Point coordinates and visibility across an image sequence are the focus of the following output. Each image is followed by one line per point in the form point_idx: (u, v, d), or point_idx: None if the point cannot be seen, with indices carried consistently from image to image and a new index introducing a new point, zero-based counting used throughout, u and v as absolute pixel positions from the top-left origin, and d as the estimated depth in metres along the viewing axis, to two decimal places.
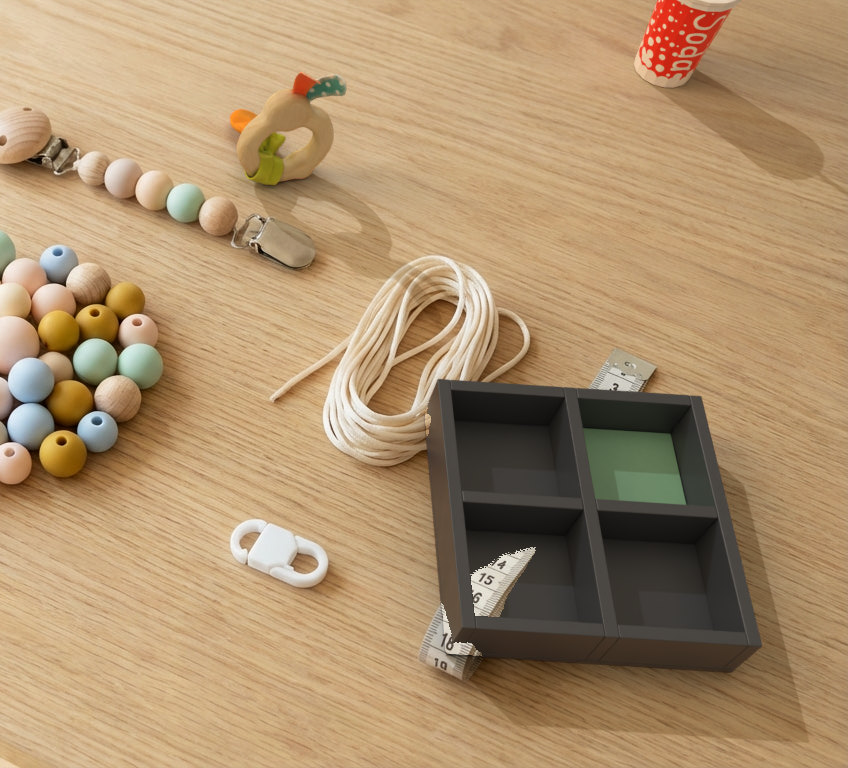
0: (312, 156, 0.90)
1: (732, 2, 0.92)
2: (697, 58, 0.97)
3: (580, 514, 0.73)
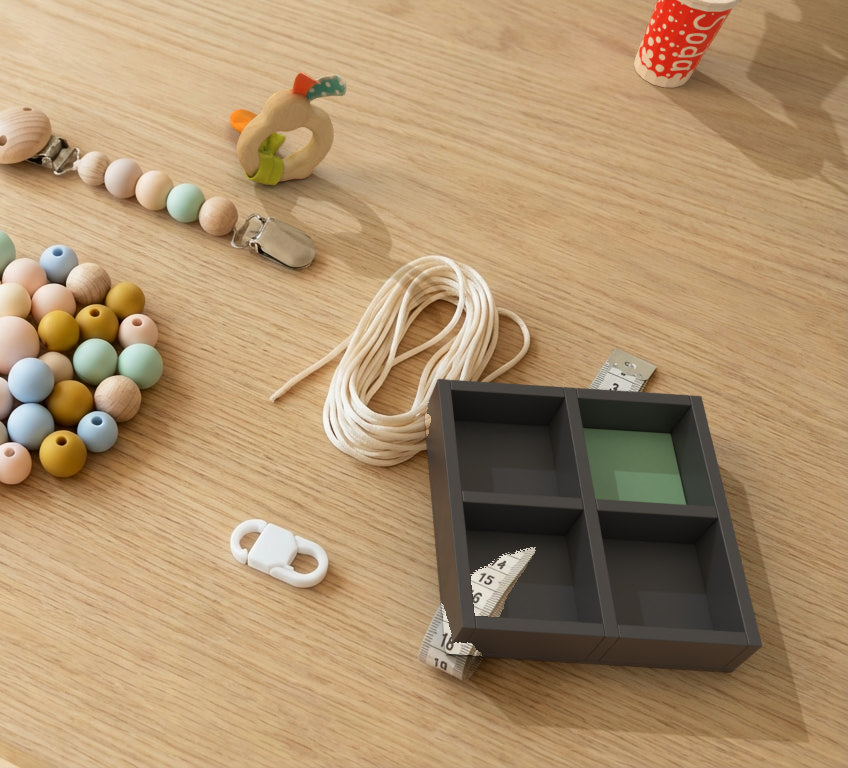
0: (312, 156, 0.90)
1: (732, 2, 0.92)
2: (697, 58, 0.97)
3: (580, 514, 0.73)
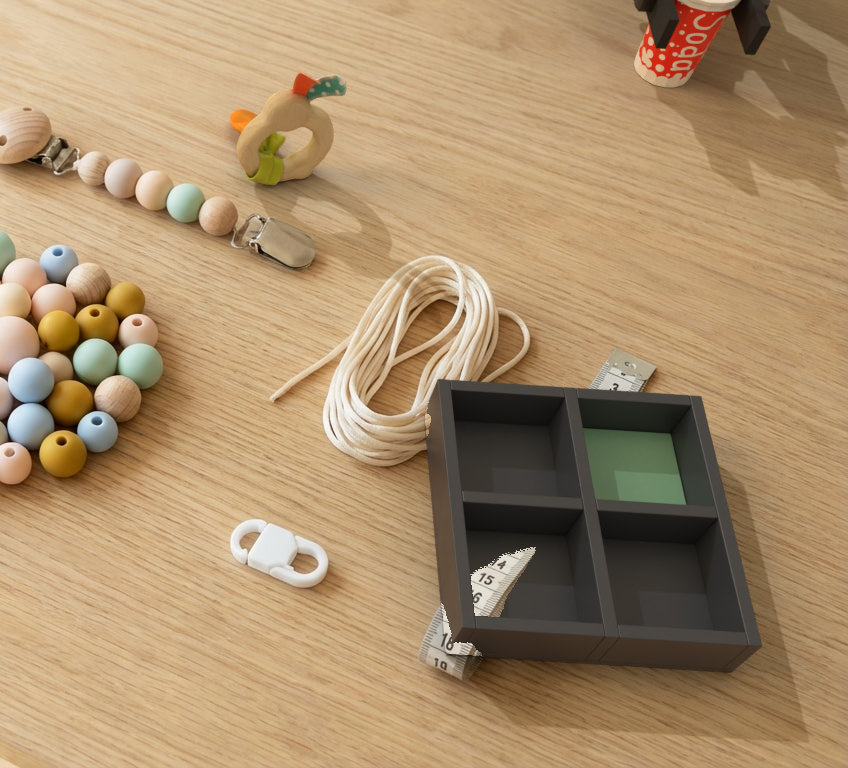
0: (312, 156, 0.90)
1: (732, 2, 0.92)
2: (697, 58, 0.97)
3: (580, 514, 0.73)
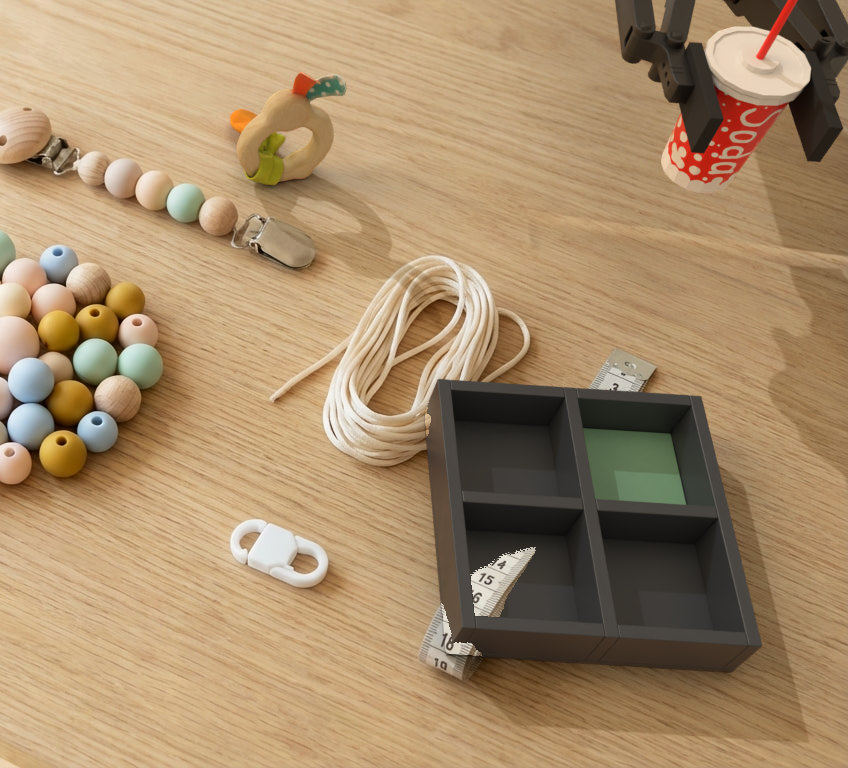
0: (312, 156, 0.90)
1: (791, 94, 0.71)
2: (743, 159, 0.76)
3: (580, 514, 0.73)
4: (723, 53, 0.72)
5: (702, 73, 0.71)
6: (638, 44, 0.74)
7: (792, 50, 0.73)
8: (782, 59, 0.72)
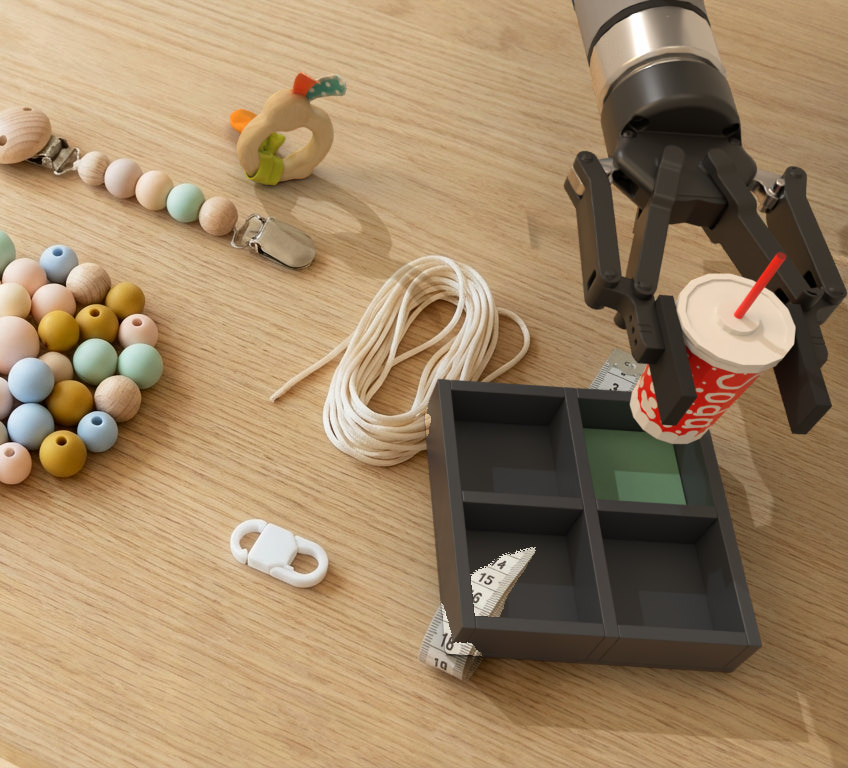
0: (312, 156, 0.90)
1: (774, 361, 0.63)
2: (720, 414, 0.68)
3: (580, 514, 0.73)
4: (697, 309, 0.64)
5: (673, 336, 0.63)
6: (602, 292, 0.66)
7: (775, 304, 0.65)
8: (763, 315, 0.64)
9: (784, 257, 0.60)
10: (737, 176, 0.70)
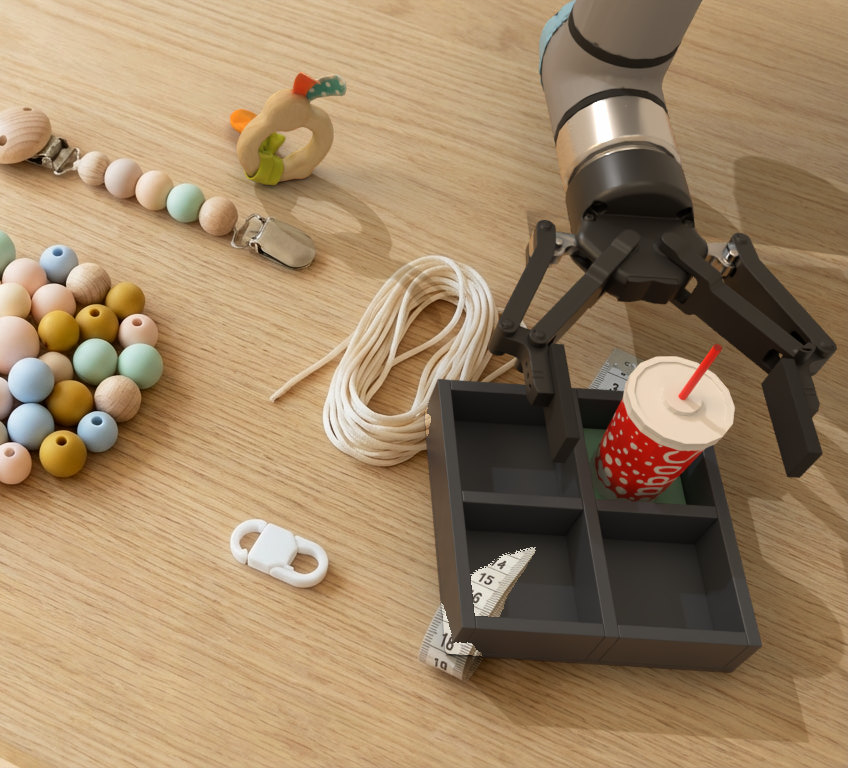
0: (312, 156, 0.90)
1: (714, 440, 0.68)
2: (670, 483, 0.74)
3: (580, 514, 0.73)
4: (645, 390, 0.70)
5: (562, 382, 0.70)
6: (498, 339, 0.73)
7: (716, 385, 0.71)
8: (705, 396, 0.70)
9: (720, 349, 0.66)
10: (694, 253, 0.75)
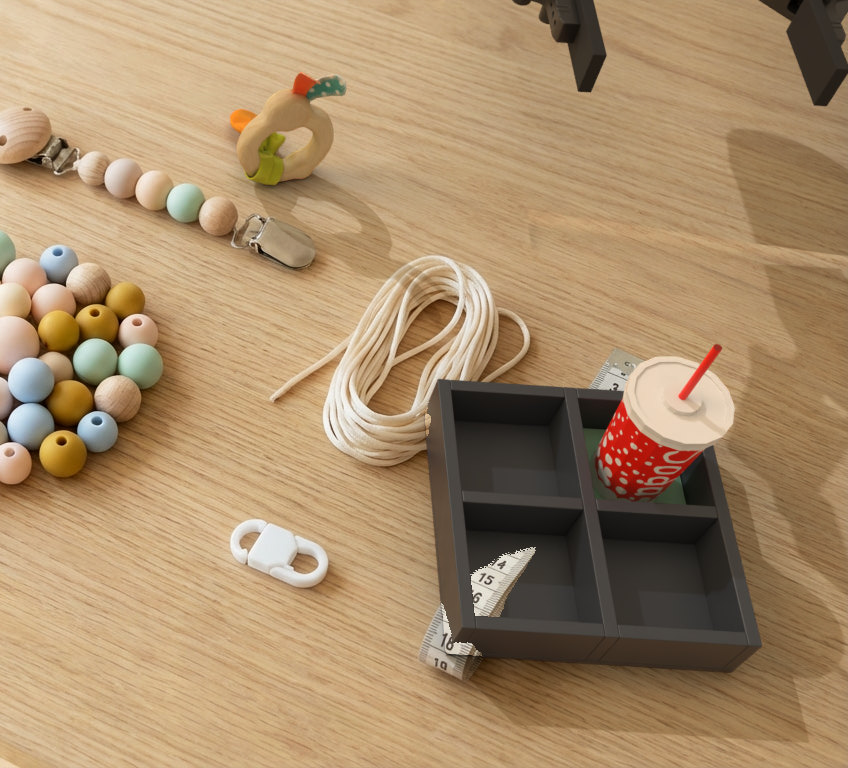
0: (312, 156, 0.90)
1: (714, 440, 0.68)
2: (670, 483, 0.74)
3: (580, 514, 0.73)
4: (645, 390, 0.70)
5: (587, 11, 0.70)
6: None
7: (716, 385, 0.71)
8: (705, 396, 0.70)
9: (720, 349, 0.66)
10: None
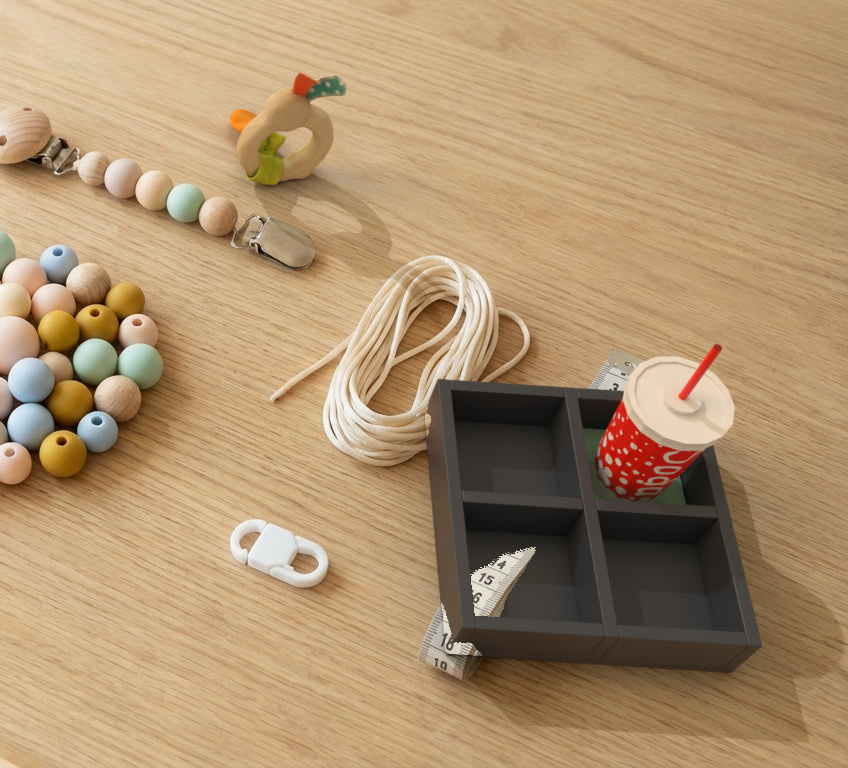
0: (312, 156, 0.90)
1: (714, 440, 0.68)
2: (670, 483, 0.74)
3: (580, 514, 0.73)
4: (645, 390, 0.70)
5: None
6: None
7: (716, 385, 0.71)
8: (705, 396, 0.70)
9: (720, 349, 0.66)
10: None
